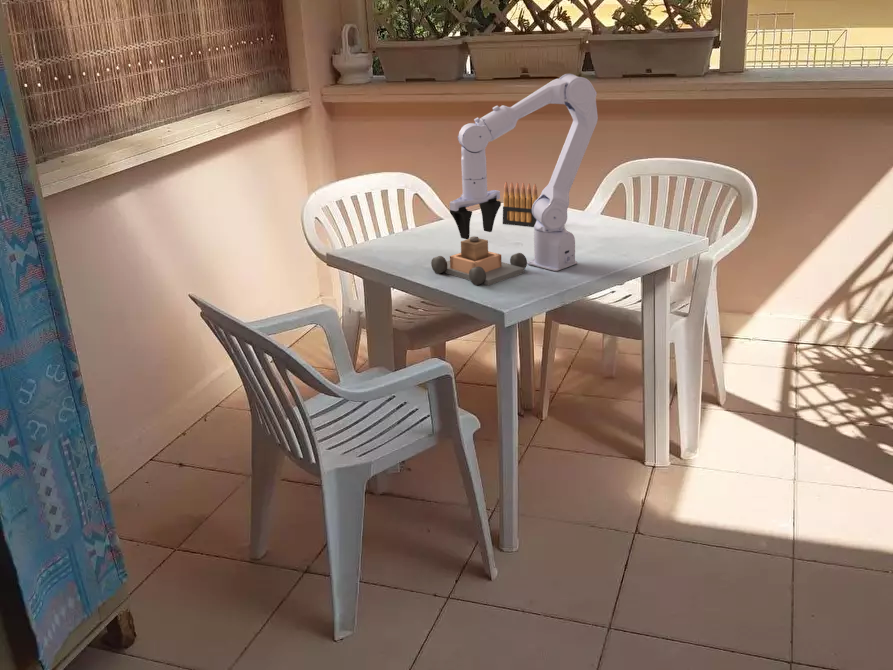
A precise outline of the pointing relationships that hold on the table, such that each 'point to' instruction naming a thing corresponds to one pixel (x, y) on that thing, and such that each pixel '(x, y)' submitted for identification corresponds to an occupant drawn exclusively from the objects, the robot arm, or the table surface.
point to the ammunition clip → (519, 205)
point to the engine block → (474, 249)
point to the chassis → (481, 267)
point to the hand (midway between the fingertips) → (476, 234)
